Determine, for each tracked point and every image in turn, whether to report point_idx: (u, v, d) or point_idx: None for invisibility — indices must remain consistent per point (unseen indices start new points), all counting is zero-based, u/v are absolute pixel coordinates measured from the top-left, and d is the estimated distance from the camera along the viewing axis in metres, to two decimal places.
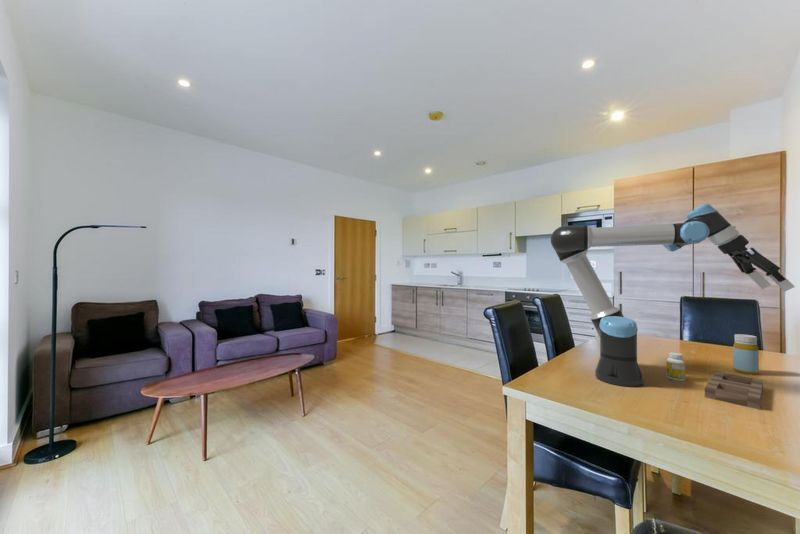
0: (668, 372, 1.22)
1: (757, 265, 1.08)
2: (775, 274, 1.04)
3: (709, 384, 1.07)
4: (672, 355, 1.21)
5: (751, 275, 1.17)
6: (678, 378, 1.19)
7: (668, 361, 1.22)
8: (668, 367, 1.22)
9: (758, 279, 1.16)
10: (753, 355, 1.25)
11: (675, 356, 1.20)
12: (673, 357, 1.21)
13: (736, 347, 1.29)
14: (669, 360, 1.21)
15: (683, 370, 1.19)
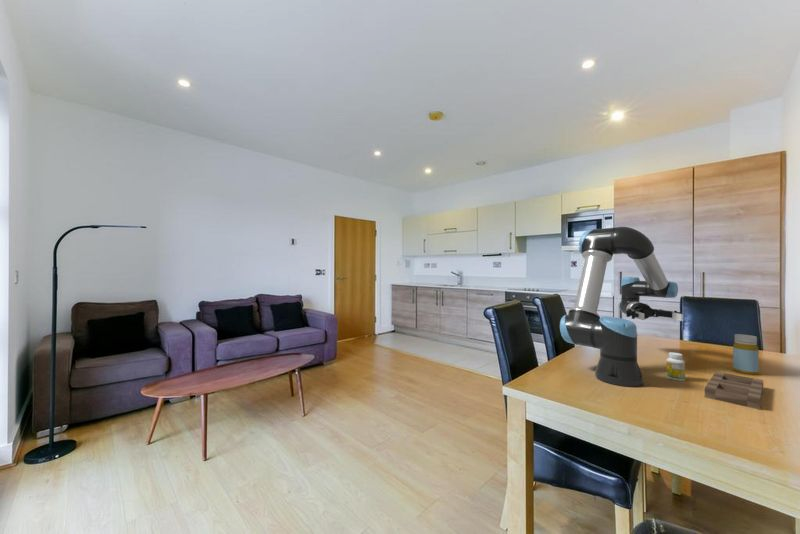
0: (668, 372, 1.22)
1: (665, 311, 1.39)
2: None
3: (709, 384, 1.07)
4: (672, 355, 1.21)
5: None
6: (678, 378, 1.19)
7: (668, 361, 1.22)
8: (668, 367, 1.22)
9: None
10: (753, 355, 1.25)
11: (675, 356, 1.20)
12: (673, 357, 1.21)
13: (736, 347, 1.29)
14: (669, 360, 1.21)
15: (683, 370, 1.19)
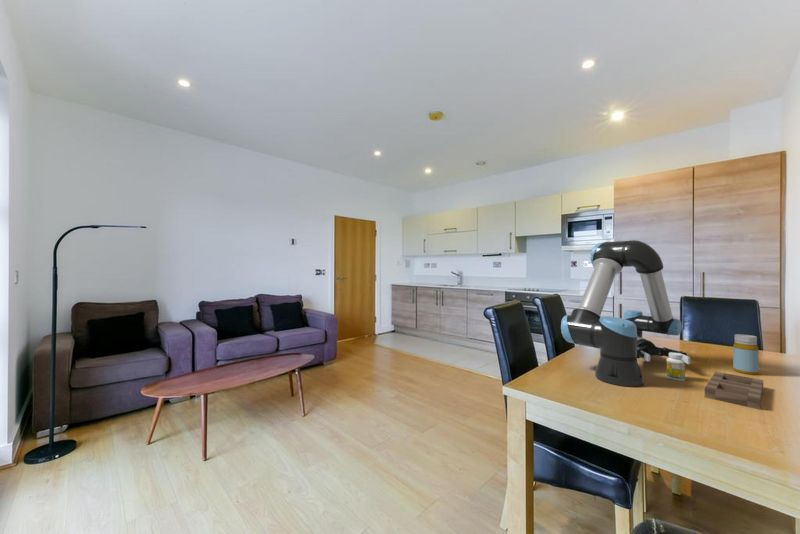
0: (668, 372, 1.22)
1: (670, 350, 1.36)
2: None
3: (709, 384, 1.07)
4: (672, 355, 1.21)
5: None
6: (678, 378, 1.19)
7: (668, 361, 1.22)
8: (668, 367, 1.22)
9: None
10: (753, 355, 1.25)
11: (675, 356, 1.20)
12: (673, 357, 1.21)
13: (736, 347, 1.29)
14: (669, 360, 1.21)
15: (683, 370, 1.19)
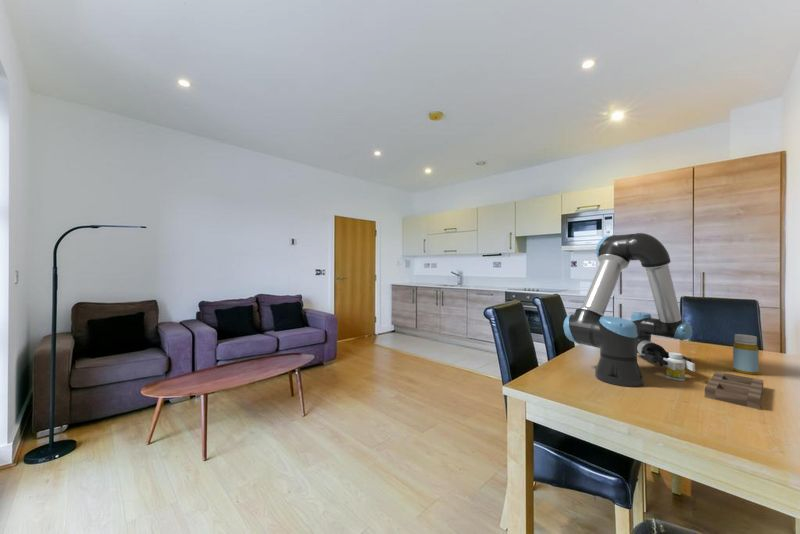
0: (668, 372, 1.22)
1: None
2: None
3: (709, 384, 1.07)
4: (672, 355, 1.21)
5: None
6: (678, 378, 1.19)
7: None
8: (668, 367, 1.22)
9: None
10: (753, 355, 1.25)
11: (675, 356, 1.20)
12: (673, 357, 1.21)
13: (736, 347, 1.29)
14: None
15: (683, 370, 1.19)
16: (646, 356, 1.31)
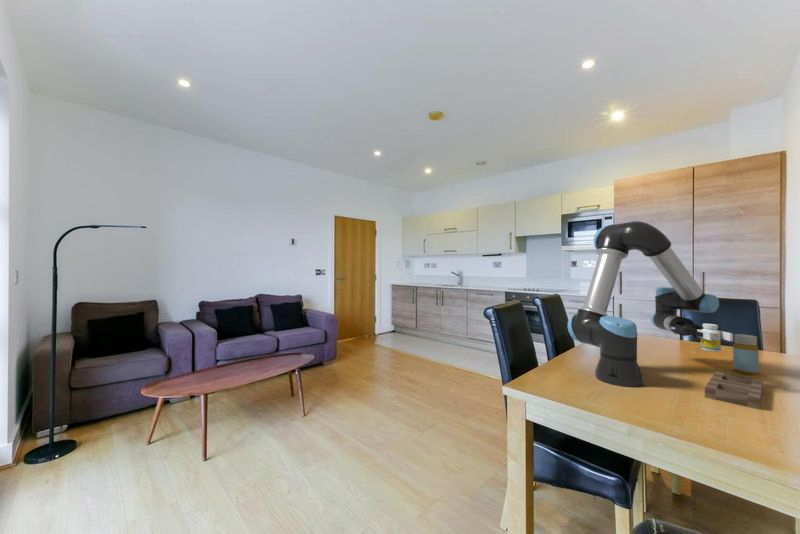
0: (702, 344, 1.17)
1: None
2: None
3: (709, 384, 1.07)
4: (707, 326, 1.16)
5: None
6: (714, 349, 1.14)
7: None
8: (702, 338, 1.17)
9: None
10: (753, 355, 1.25)
11: (710, 326, 1.15)
12: (708, 328, 1.16)
13: (736, 347, 1.29)
14: None
15: (719, 341, 1.14)
16: (677, 329, 1.26)
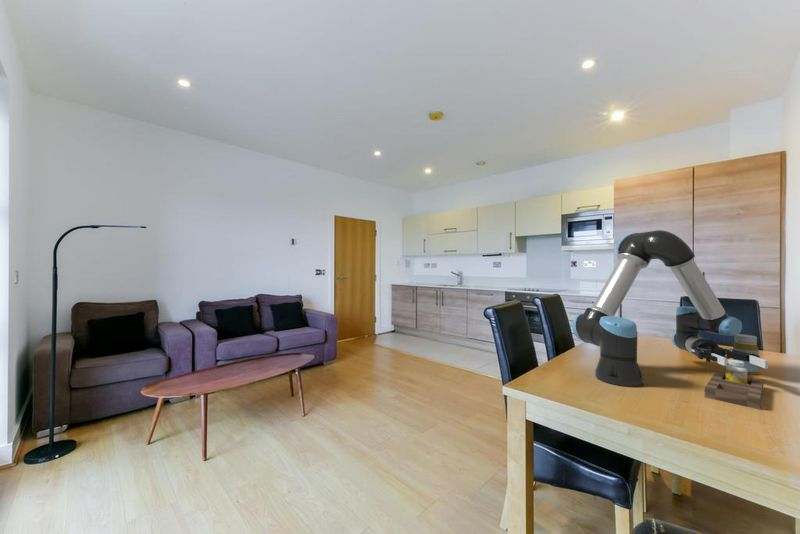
0: None
1: (739, 352, 1.17)
2: None
3: (709, 384, 1.07)
4: (733, 363, 1.11)
5: None
6: None
7: (728, 369, 1.12)
8: (728, 376, 1.12)
9: None
10: None
11: (736, 364, 1.10)
12: (734, 365, 1.11)
13: (736, 347, 1.29)
14: (729, 368, 1.12)
15: (746, 379, 1.09)
16: (695, 352, 1.22)
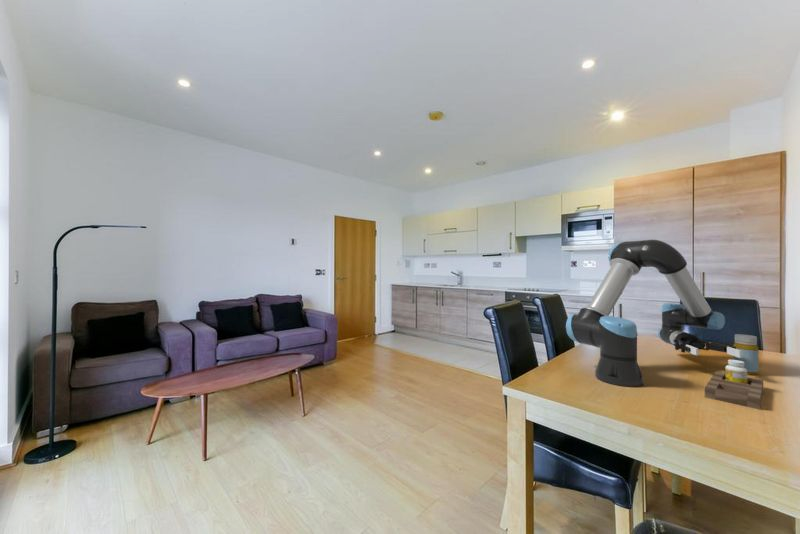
0: None
1: (717, 344, 1.29)
2: None
3: (709, 384, 1.07)
4: (733, 363, 1.11)
5: None
6: None
7: (728, 369, 1.12)
8: (728, 376, 1.12)
9: None
10: (753, 355, 1.25)
11: (736, 364, 1.10)
12: (734, 365, 1.11)
13: (736, 347, 1.29)
14: (729, 368, 1.12)
15: (746, 379, 1.09)
16: None
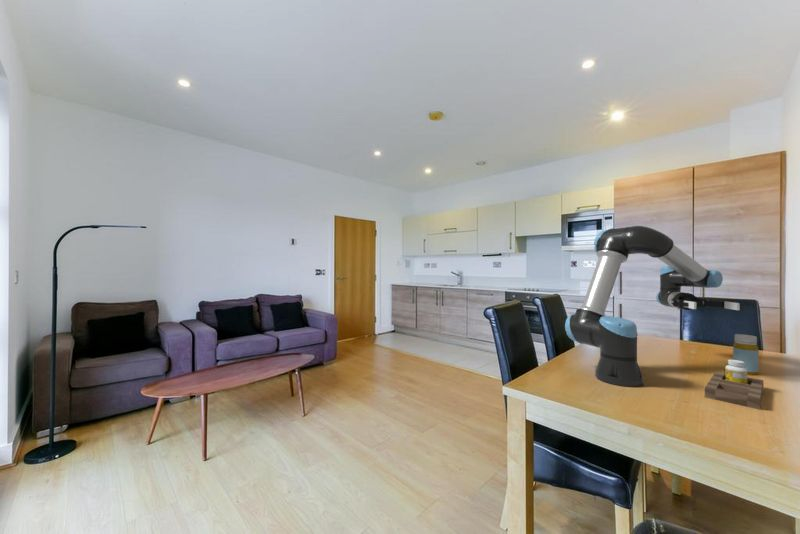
0: None
1: (715, 300, 1.30)
2: None
3: (709, 384, 1.07)
4: (733, 362, 1.11)
5: None
6: None
7: (728, 369, 1.12)
8: (728, 375, 1.12)
9: None
10: (753, 355, 1.25)
11: (736, 364, 1.10)
12: (734, 365, 1.11)
13: (736, 347, 1.29)
14: (729, 368, 1.12)
15: (746, 379, 1.09)
16: None
